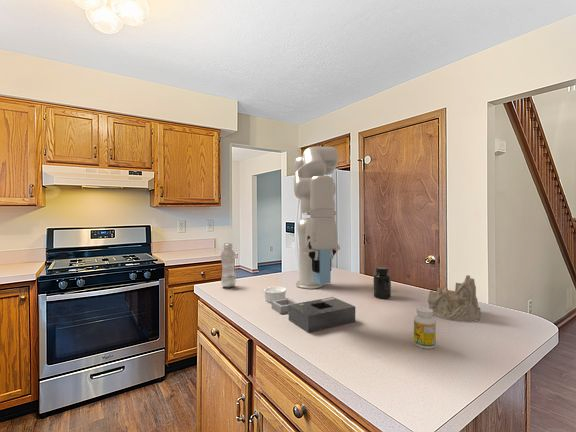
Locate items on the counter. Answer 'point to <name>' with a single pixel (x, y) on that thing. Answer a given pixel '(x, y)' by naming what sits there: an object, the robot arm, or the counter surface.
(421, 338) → the supplement bottle
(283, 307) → the frame
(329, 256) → the plug
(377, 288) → the supplement bottle
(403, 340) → the counter surface
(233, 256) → the plastic bottle
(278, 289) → the ramekin
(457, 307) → the ceramic cottage
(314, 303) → the port panel
